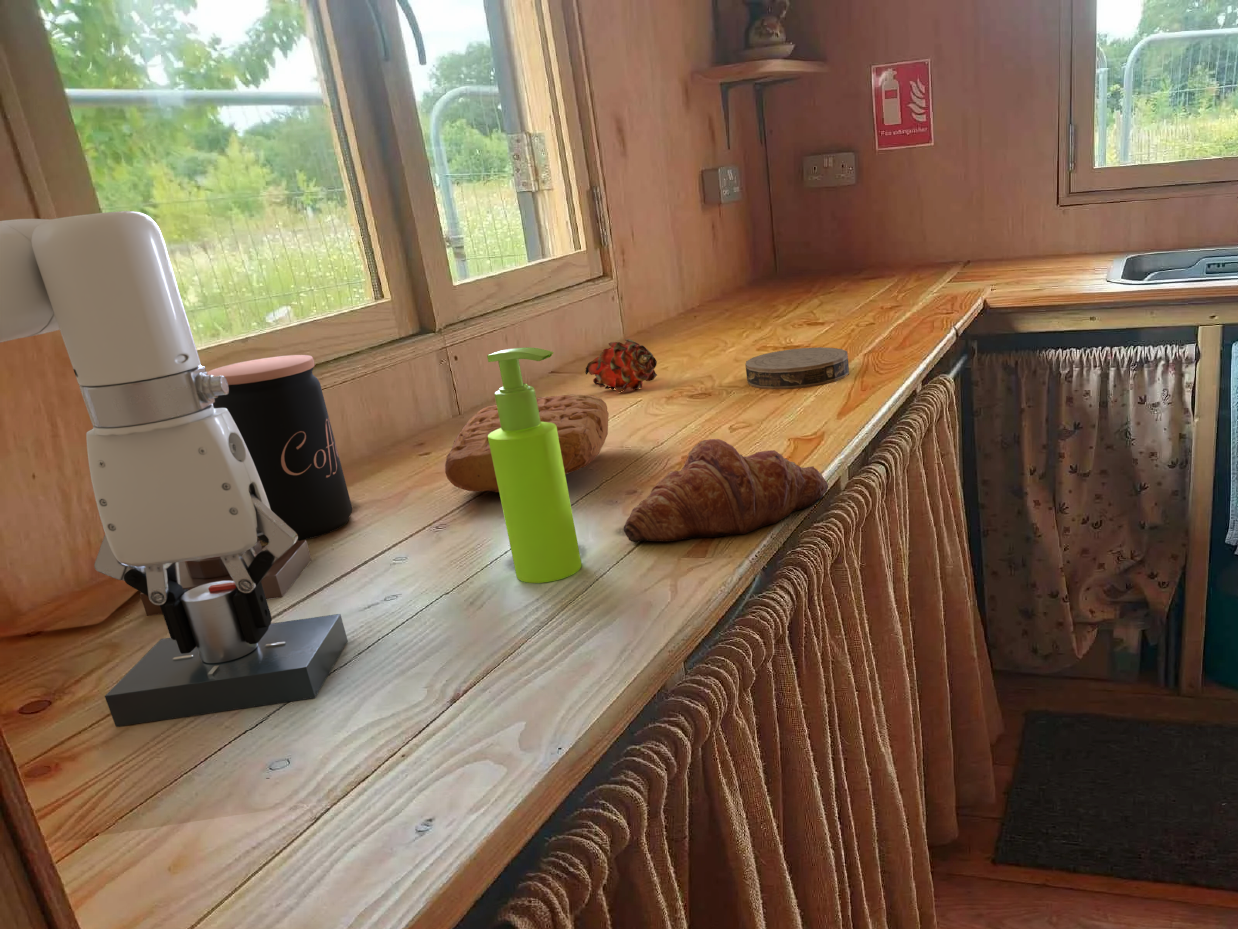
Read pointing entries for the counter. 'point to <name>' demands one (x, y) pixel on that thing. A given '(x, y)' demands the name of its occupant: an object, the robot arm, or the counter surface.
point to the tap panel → (230, 674)
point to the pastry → (723, 495)
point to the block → (215, 570)
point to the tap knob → (215, 622)
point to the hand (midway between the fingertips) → (225, 638)
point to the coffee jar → (289, 441)
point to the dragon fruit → (623, 366)
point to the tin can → (797, 368)
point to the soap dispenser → (531, 477)
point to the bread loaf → (572, 415)
